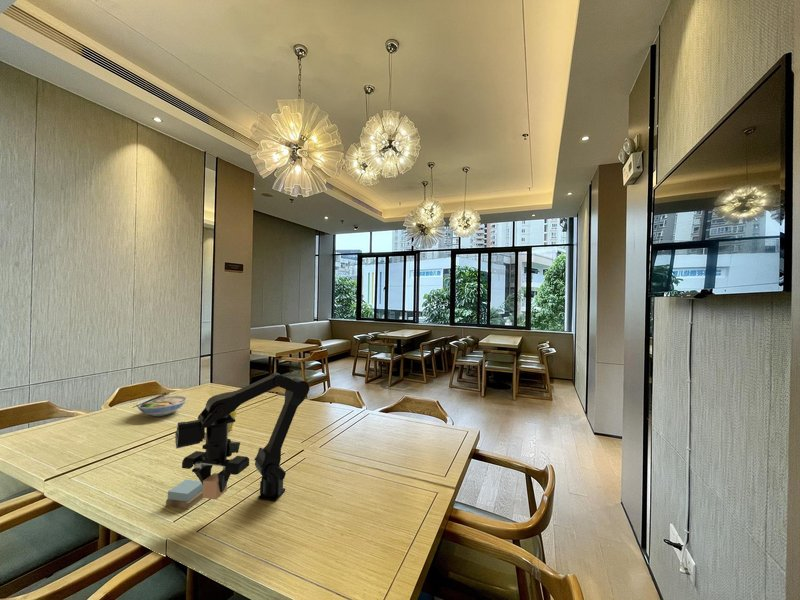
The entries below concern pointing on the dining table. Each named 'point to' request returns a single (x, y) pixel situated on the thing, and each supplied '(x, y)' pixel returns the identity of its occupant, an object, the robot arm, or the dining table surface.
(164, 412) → the ramen bowl
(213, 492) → the clay block
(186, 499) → the blue slab
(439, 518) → the dining table surface
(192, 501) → the walnut slab
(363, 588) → the dining table surface
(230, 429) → the plant pot
